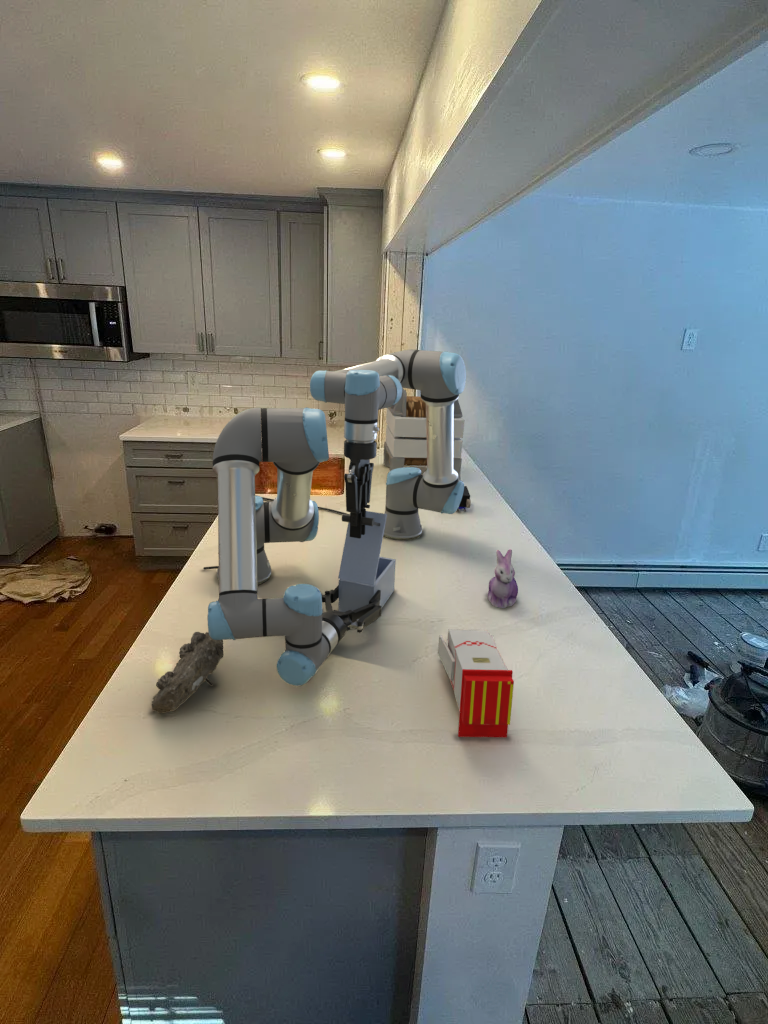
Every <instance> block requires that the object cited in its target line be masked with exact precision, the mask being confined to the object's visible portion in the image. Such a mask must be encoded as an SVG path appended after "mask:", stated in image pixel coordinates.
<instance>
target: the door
mask: <svg viewBox="0 0 768 1024" xmlns="http://www.w3.org/2000/svg"><path fill="white" fill-rule="evenodd" d="M349 514H350V513H347V514H341V522H344V523H347V526H346V527H347V528H346V533H345V539H344V544H343V549H342V555H341V561H340V567H339V572H338V580H339V579H343V580H348V581H353V582H358V583H364V584H369V585H375V580H376V574H377V569H378V563H379V557H381V551H382V546H383V540H384V536H383V535H384V529H385V524H386V518H387V514H384V513H383V512H376V511H369V510H366V517H362V525H365V535H361V538H360V539H359V538H353V537H350V515H349Z"/></svg>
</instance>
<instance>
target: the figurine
mask: <svg viewBox="0 0 768 1024" xmlns="http://www.w3.org/2000/svg"><path fill="white" fill-rule="evenodd" d="M495 555H496V566H495V567H494V573H493V574H494V576H493V577H492V578H491V579H490V580H489V582H488V591H487V600H488V601H489V603H490V605H491V606H492V607H495V608H500V609H506V608H507V607H511V606H513V605H514V604H515V603H516V601H517V597H518V595H519V585H518V583H517V579H515V575H516V571H515V567H514V565H513V564H512V558H513V557H512V556H513V550H512V548H509V549H508V550H507V551H506V553H505V555H504V556H503V554H502V551H500V550H499V549H497V550H496V551H495Z"/></svg>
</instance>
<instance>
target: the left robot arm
mask: <svg viewBox="0 0 768 1024" xmlns="http://www.w3.org/2000/svg"><path fill="white" fill-rule="evenodd" d="M326 419H327V418H326V414H325V412H324V411H323V410H322V409H320V408H310V407H251V408H247V409H244V410H242V411H240V412H239V413H237V414H236V415H234V416H233V417H232V418H231V419H230V420H229V421H228V422H227V423H226V424H225V425H224V427H223V428H222V429H221V431H220V433H219V435H218V437H217V440H216V442H215V445H214V448H213V454H212V472H213V473H214V474H216V475H217V526H218V527H217V534H218V535H217V536H218V537H217V538H218V540H217V541H218V543H217V544H218V545H217V546H218V550H217V551H218V565H214V566H213V565H212V566H203V568H202V569H203V570H204V571H205V570H216V569H217V570H216V578H217V581H218V598H217V599H218V600H215V601H211V602H209V603H208V607H207V631H208V632H209V635H210V637H211V638H212V639H214V640H223V641H225V640H228V641H229V640H232V641H236V640H243V639H254V638H256V639H257V638H269V637H284V648H285V649H284V651H282V653H281V654H280V656H279V657H278V660H277V662H276V671H277V674H278V676H279V677H280V678H281V680H283V682H285V683H286V684H288V685H290V686H295V687H300V686H304V685H305V684H306V683H308V682H309V681H310V679H311V678H313V677H314V676H315V675H316V674H317V672H318V670H319V669H320V667H321V666H322V665H323V664H324V662H325V661H326V660H327V658H328V657H329V656H330V654H331V653H332V652H333V650H335V648H336V647H337V645H338V644H339V643H340V642H341V640H342V639H343V638H344V636H345V634H346V633H347V632H348V631H349V630H352V629H354V630H356V633H359V634H360V633H363V631H364V629H365V628H366V627H368V626H369V625H371V624H372V623H374V622H375V621H376V620H378V619H380V617H382V609H383V607H382V606H380V597H381V590H378V591H377V592H376V593H375V594H374V596H373V597H372V598H371V599H370V601H369V604H368V605H365V606H363V607H360V608H358V609H355V610H353V611H352V610H348V611H346V612H340V611H338V610H337V609H334V610H333V605H332V604H334V603H336V601H337V600H339V584H337V586H335V588H334V589H330V590H325V591H324V594H323V593H322V592H321V590H320V589H319V588H318V587H316V586H315V585H312V584H309V583H297V584H295V585H290V586H289V587H287V588H286V589H285V590H284V593H283V595H282V596H283V597H269V598H259V596H258V590H259V588H258V586H259V585H262V584H264V583H265V582H268V581H269V580H270V578H271V577H272V566H271V562H270V560H269V559H268V556H267V553H266V551H265V544H273V543H297V542H298V543H304V542H311V541H313V540H314V539H316V537H317V535H318V532H319V521H320V514H319V512H320V511H319V509H318V507H319V506H318V503H317V501H315V500H312V499H311V492H312V483H313V475H314V471H315V470H316V469H317V468H318V466H319V465H320V463H323V462H327V461H329V460H330V454H329V453H330V452H329V443H328V432H327V422H326V421H327V420H326ZM260 463H273V465H274V466H275V467H276V469H277V470H276V471H277V472H276V476H277V477H276V497H274V498H273V499H274V501H264V499H262V498H261V497H262V496H260V495H256V475H257V474H258V473H259V472H260ZM255 495H256V496H255ZM323 603H324V607H325V611H324V608H323ZM208 632H207V633H208Z"/></svg>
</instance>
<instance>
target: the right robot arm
mask: <svg viewBox="0 0 768 1024" xmlns="http://www.w3.org/2000/svg"><path fill="white" fill-rule="evenodd" d="M466 381H467V369H466V364H465V361H464V359H463V357H462V356H461V355H460V354H459V353H456V352H451V351H446V350H444V351H442V350H441V351H440V350H425V349H424V350H423V349H404V350H399V351H394V352H390V353H387V354H384V355H381V356H379V357H378V358H377V359H376V360H373V361H370V362H367V363H362V364H358V365H355V366H351V367H347V368H343V369H338V370H334V371H333V370H332V371H330V370H327V369H325V370H316V371H315V372H314V373H312V375H311V377H310V381H309V393H310V395H311V397H312V398H313V400H315V401H319V402H323V403H332V404H340V405H344V419H343V438H344V439H345V440H344V441H343V456H344V457H345V458H347V459H348V460H349V465H348V473H344V475H343V479H344V483H345V485H344V486H345V487H344V488H345V509H346V510H345V511H346V512H343V511H339V510H336V509H331V508H328V507H323V506H318V510H321V511H322V510H323V511H328V512H331V513H336V514H339V515H343V514H349V515H350V537H353V538H359V539H360V538H361V535H365V525H362V517H366V511H367V509H370V507H371V505H370V504H369V503H370V502H371V493H372V480H373V471H374V467H375V464H374V463H373V462H370V461H371V460H373V459H375V458H376V457H377V450H378V449H377V447H378V445H377V444H378V443H377V441H376V440H377V439H378V432H379V431H380V427H378V423H379V420H378V419H379V410H383V409H387V408H388V407H391V406H392V405H394V404H396V403H397V402H398V401H399V400H400V398H401V396H402V388H403V389H409V390H415V391H416V390H417V391H419V392H420V393H419V394H420V397H421V399H422V400H423V401H424V402H425V403H426V436H427V466H426V470H424V472H423V473H422V470H421V468H419V467H416V466H406V467H405V466H404V468H397V469H393V470H391V471H390V470H389V471H388V473H387V475H386V482H385V504H384V505H385V507H384V508H385V509H384V513H383V514H387V518H386V524H385V529H384V535H383V538H384V537H385V538H387V539H389V540H395V541H410V540H415V539H418V538H420V537H421V536H422V535H423V525H422V524H421V518H420V515H419V510H424V511H430V512H435V513H440V514H446V515H453V514H455V513H456V512H457V509H458V507H459V505H460V502H461V499H462V496H463V492H464V486H465V482H464V481H462V480H461V479H460V480H459V481H458V473H457V472H456V471H455V470H454V402H455V401H456V400H457V399H458V400H459V397H460V395H461V394H462V393H463V392H464V390H465V389H466ZM255 496H256V494H255ZM260 497H261V498H262V499H263V501H268V502H273V501H274V499H275V498H268V497H264V496H260Z"/></svg>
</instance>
